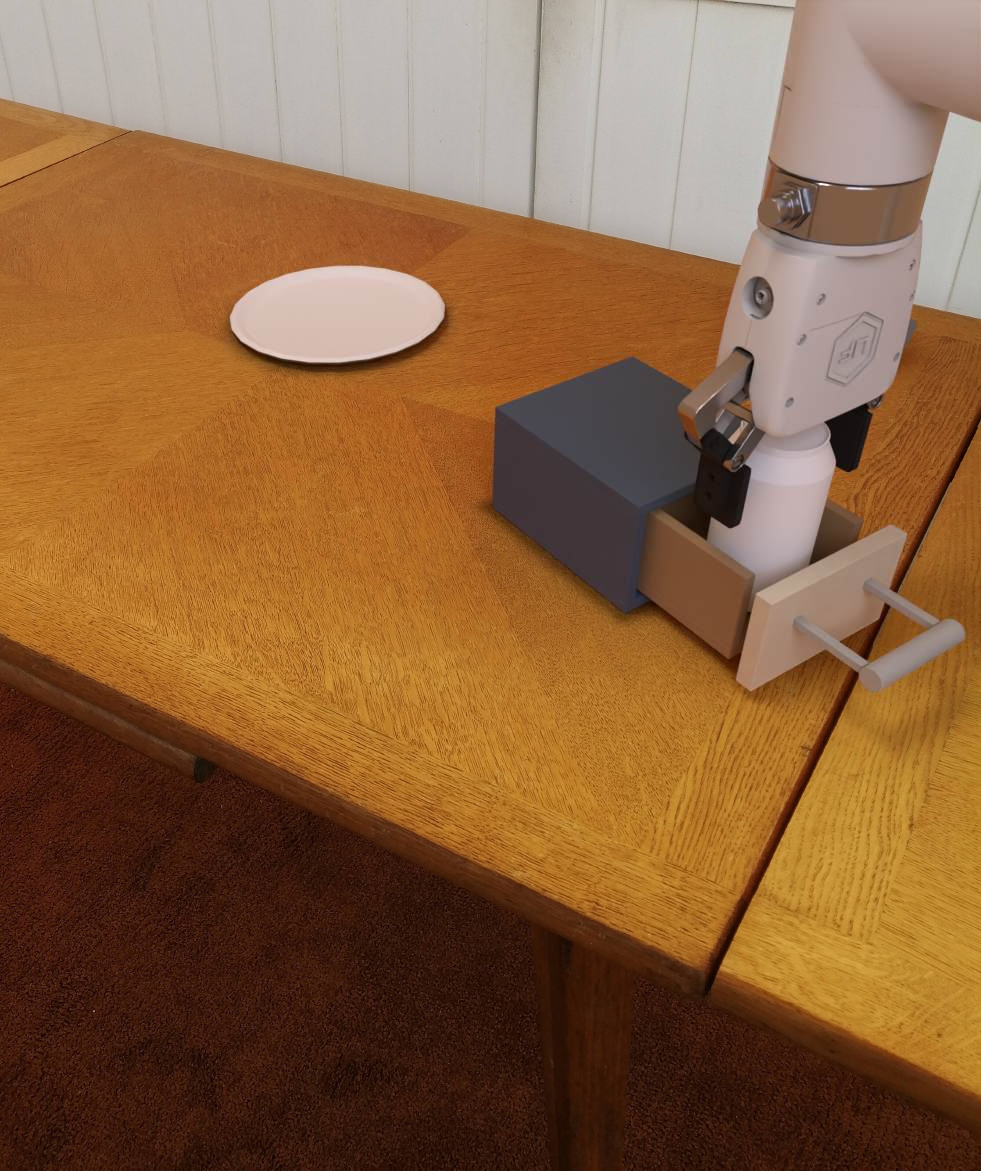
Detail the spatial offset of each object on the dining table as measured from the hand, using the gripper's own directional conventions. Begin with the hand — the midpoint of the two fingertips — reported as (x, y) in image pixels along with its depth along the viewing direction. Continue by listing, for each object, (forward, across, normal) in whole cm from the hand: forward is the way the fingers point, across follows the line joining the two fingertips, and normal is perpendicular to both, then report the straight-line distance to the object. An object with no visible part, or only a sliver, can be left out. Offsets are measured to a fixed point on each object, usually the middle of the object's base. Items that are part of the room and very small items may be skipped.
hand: (775, 487), depth 64 cm
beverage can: (+8, 0, 0) cm, 8 cm away
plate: (+10, 0, +53) cm, 54 cm away
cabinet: (+10, 0, +12) cm, 16 cm away
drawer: (+9, 0, -2) cm, 9 cm away
